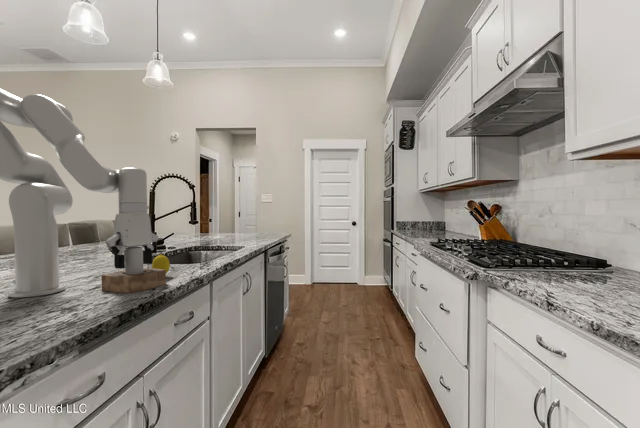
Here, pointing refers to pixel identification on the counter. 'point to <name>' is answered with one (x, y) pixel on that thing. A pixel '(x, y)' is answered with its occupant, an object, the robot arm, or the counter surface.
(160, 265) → the lemon
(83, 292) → the counter surface
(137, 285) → the socket block
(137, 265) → the beverage can
